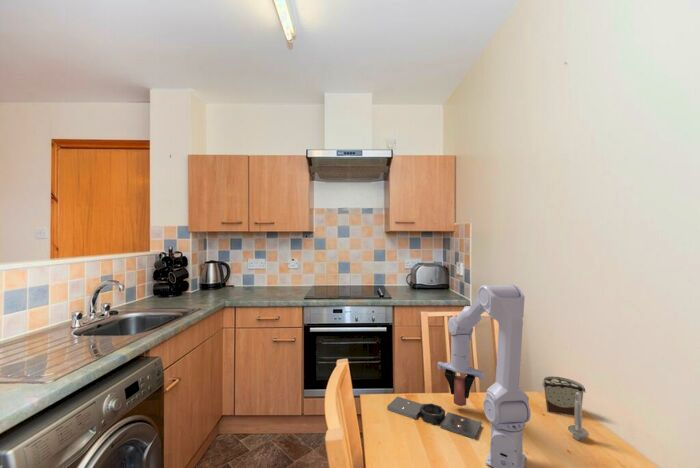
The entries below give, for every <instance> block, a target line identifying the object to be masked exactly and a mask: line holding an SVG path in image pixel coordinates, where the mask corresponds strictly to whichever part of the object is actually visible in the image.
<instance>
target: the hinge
mask: <svg viewBox="0 0 700 468" xmlns="http://www.w3.org/2000/svg"><path fill="white" fill-rule="evenodd" d="M386 410H387V411H390V412H394V413H396V414H399V415H402V416H406V417H408V418H410V419H414V420H417V419H418V418H419V417H420V418H421V420H422V421H423V422H425V423H428V424H431V425H440V429H443V430H446V431H449V432H452V433H455V434H458V435H461V436H464V437H467V438H470V439H472V440H476V439H477V438H478V436H479V433H480V430H481V429H482V422H481V421H478V420H475V419H472V418H469V417H465V416H462V415H461V414H460V415H459V414H455V413H453V412H449V411H448V412H446V410H445V409H444V408H443V407H442V406H441V405H438V404H436V403H435V404H434V403H420V402H417V401H413V400H410V399H407V398H404V397H401V396H396V397H395V398H394V399H393V400H392V401H391V402H390V403H389V404H387V407H386Z"/></svg>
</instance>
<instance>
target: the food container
mask: <svg viewBox="0 0 700 468" xmlns="http://www.w3.org/2000/svg"><path fill="white" fill-rule="evenodd" d="M541 387H542V388H544V397H545V398H544V399H545V406H546V411H547V413H550V414H557V415H563V416H571V417H575V416H574V415H575V414H574V413H575V412H574V411H575V410H574V409H575V408H574V407H575V403H574V402H575V393H576V392H579V393H580V394H581V401H582V402H581V403H582V404H581V405H582V406H583V399H584V394H585V393H586V388H585V387H584V385H583V384H582V383H581V382H578V381H575V380H572V379H570V378H566V377H560V376H545V377H544V378H543V380H542V384H541Z"/></svg>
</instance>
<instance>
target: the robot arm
mask: <svg viewBox="0 0 700 468" xmlns="http://www.w3.org/2000/svg"><path fill="white" fill-rule="evenodd" d="M476 296H477V297H476V299H475V300H474V301H473V303H472V305H465V306H464V307H463V308H462V310H461V311H460V312H459V313H458V315H457V316H455V317H453V316H450V317H449V318H448V321H447V329H448V332H449V334H450V335H451V336H450V339H451V340H450V345H451V347H450V349H451V350H450V362H443V361H438V362H437V370H444V377H445V378H446V380H447V381H446V382H447V383H448V387H449V390H450V394H451V395H453V396H454V376H456V373H458V374H462V375H466V376H464V377H465V386H466V391H465V398H466V400H467V399H469V397H470V392H471V388H472V385H473V383H474V381H475V379H476V378H477V379H478V378H479V379H480V380H484V378H485V371H483V370H480V369H477V368H473V367H471V366H470V341H471V340H472V335H473V332H474V327H475V326H476V325H478V323H480V321H481V320H482V319H481V318H482V315H483V313H487V315H488V316H489V317H490V318H491V319H493V320H494V321H495V320H496V322H497V323H498V336H497V337H498V338H497V350H496V351H497V352H496V368H495V369H496V370H495V382H494V383H493V384H492V385H490V386H489V387H488V388H487V389H486V395H485V397H484V400H483V405H482V406H483V408H482V409H483V411H484V415H485V418H487V420H488V421H489V423H490V449H489V452H488V454H487V459H486V461H485V464H486V465H487V466H489V467H492V468H525V463H526V454H525V453H523V451H524V450H523V444H524V443H523V442H524V441H523V438H524V437H523V435H524V433H523V428H524V429H525V428H526V423H528V422H529V421H530V419H531V416H532V415H531V413H532V412H531V407H530V404H529V403H530V402H529V400H530V399H529V396H528V394H527V393H526V392H525V391H524V390H523V389H522V388H520V376H521V360H522V359H521V357H522V345H523V344H522V343H523V342H522V341H523V340H522V339H523V326H524V321H523V320H524V319H523V318H524V316H525V315H524V312H525V311H524V309H525V294H524V293H523V291H522V290H521V289H520V288H519V286H517V285H515V284H509V285H508V284H507V285H506V284H505V285H503V284H502V285H500V284H497V285H496V284H495V285H491V284H490V285H489V284H482V285H480V287H479V288H478V289H477V291H476Z"/></svg>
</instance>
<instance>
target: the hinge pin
mask: <svg viewBox="0 0 700 468" xmlns="http://www.w3.org/2000/svg"><path fill="white" fill-rule="evenodd" d="M465 377H466V376H461V375H455V376H454V394H453V403H454V404H455V405H457V406H461V407H465V406H467V398H465V391H466V386H465Z"/></svg>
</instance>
